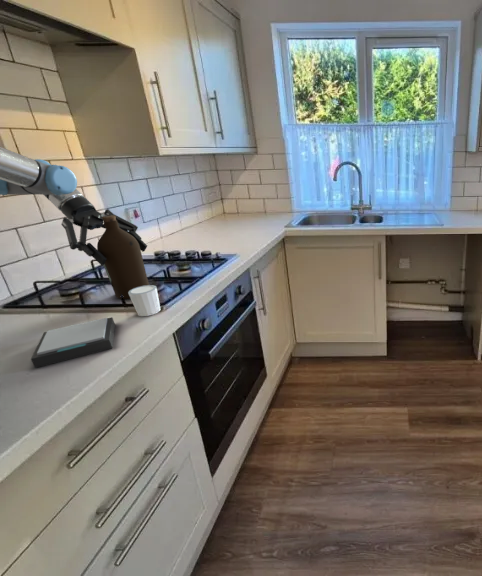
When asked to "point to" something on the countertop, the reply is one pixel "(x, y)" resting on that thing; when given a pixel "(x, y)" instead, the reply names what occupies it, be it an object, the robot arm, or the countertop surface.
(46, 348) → the scale
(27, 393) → the countertop surface
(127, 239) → the olive oil
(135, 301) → the white faceted cylinder
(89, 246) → the robot arm
